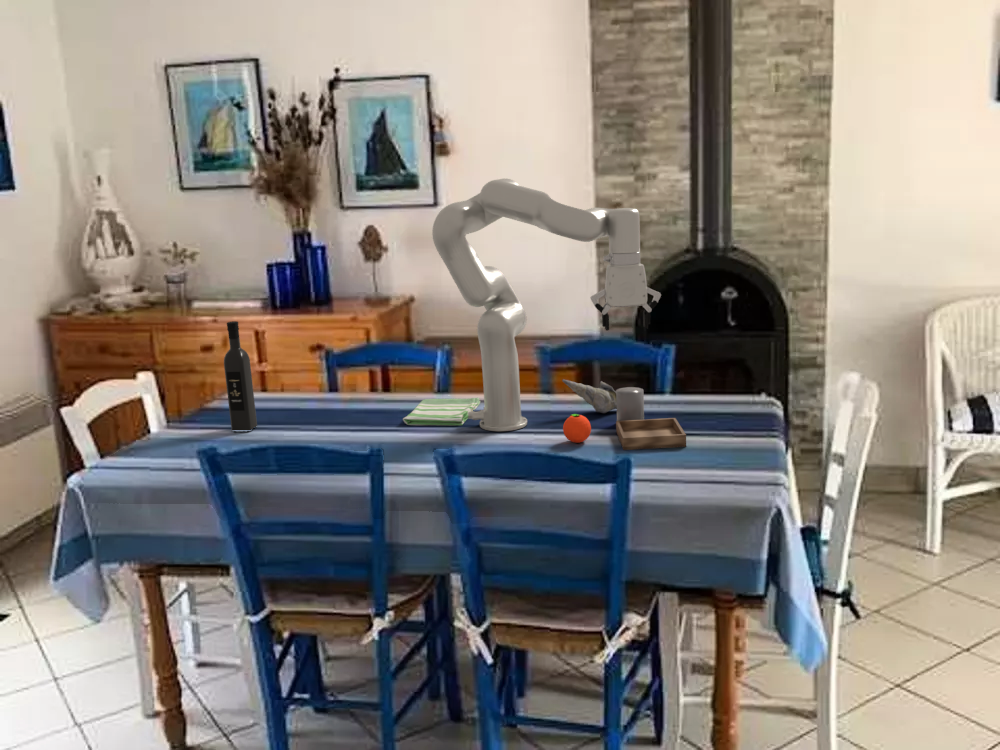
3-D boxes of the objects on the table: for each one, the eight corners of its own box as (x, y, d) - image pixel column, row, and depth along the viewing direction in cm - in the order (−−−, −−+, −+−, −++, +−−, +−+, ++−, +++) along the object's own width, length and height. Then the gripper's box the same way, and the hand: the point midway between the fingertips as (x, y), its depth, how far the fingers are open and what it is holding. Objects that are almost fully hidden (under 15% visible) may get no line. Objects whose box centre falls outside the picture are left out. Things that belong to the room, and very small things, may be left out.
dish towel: (481, 404, 296) (481, 395, 295) (464, 427, 274) (464, 417, 273) (421, 405, 299) (421, 395, 299) (400, 427, 277) (399, 417, 276)
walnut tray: (623, 450, 245) (623, 438, 244) (616, 432, 260) (616, 421, 259) (686, 446, 245) (686, 434, 244) (675, 429, 259) (675, 417, 259)
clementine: (557, 439, 256) (556, 412, 255) (582, 435, 259) (581, 408, 257) (570, 447, 249) (569, 419, 247) (596, 443, 251) (595, 415, 250)
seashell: (625, 416, 274) (624, 379, 271) (562, 416, 277) (561, 380, 274) (627, 406, 283) (626, 371, 281) (566, 407, 286) (565, 372, 284)
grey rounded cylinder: (618, 428, 263) (617, 394, 261) (615, 421, 270) (614, 388, 268) (646, 427, 263) (645, 393, 261) (642, 419, 270) (641, 386, 268)
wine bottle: (249, 432, 278) (237, 323, 271) (230, 432, 279) (217, 324, 272) (258, 427, 283) (246, 320, 276) (239, 426, 284) (227, 320, 278)
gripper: (591, 263, 246) (593, 333, 250) (662, 259, 247) (663, 329, 251) (587, 259, 254) (589, 327, 258) (657, 255, 254) (658, 323, 258)
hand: (626, 328), depth 254 cm, fingers open, 9 cm apart
